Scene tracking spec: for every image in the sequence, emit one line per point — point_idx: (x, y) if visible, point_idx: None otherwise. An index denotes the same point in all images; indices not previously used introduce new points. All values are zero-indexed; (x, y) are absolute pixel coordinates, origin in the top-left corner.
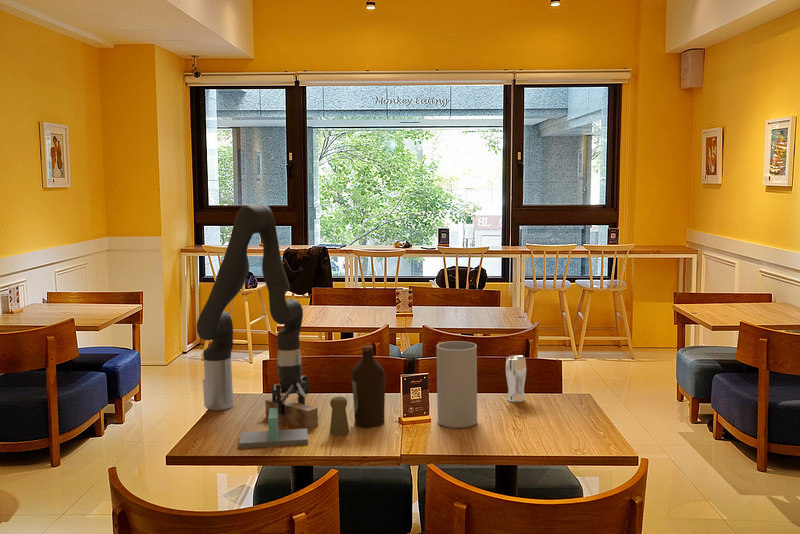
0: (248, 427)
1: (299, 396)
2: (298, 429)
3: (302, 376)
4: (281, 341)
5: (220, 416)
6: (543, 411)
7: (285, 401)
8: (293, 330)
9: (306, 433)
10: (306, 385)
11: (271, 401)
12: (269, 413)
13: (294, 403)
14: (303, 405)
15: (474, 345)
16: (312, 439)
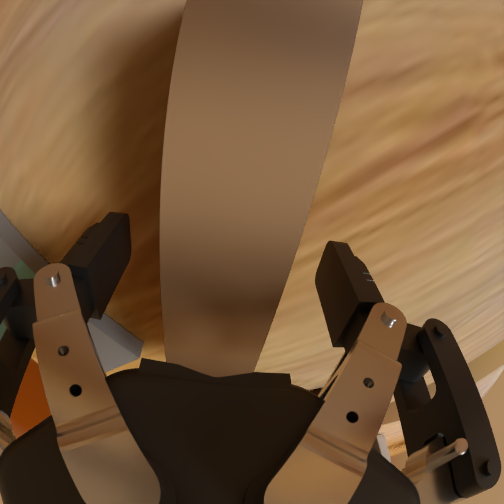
0: (26, 70)
1: (356, 321)
2: (107, 340)
3: (453, 500)
4: None
5: None
6: (403, 445)
7: (277, 177)
8: None
9: (106, 369)
10: (407, 434)
11: (194, 16)
12: None
13: (253, 295)
14: (239, 361)
15: None
16: (119, 367)
